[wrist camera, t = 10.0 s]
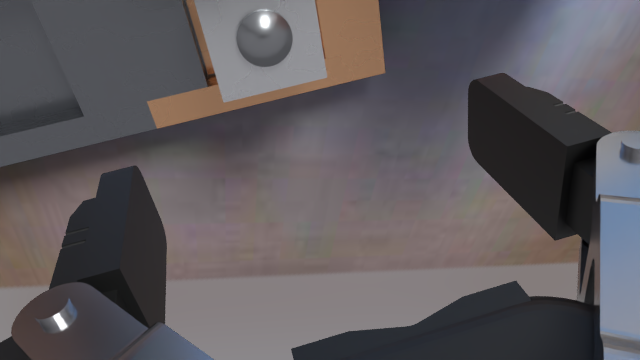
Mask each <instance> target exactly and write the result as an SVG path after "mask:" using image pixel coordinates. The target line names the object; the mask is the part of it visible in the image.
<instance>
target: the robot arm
mask: <svg viewBox="0 0 640 360" xmlns="http://www.w3.org/2000/svg"><path fill="white" fill-rule="evenodd" d="M468 142H469V147H470V150H471V153H472V155H473V157H474V159H475V160H476V161H477V162H478V163H479V165H480V166H481V167H482V168H483V169H484V170H485V171H486V172H487V173H488V174H489V175H490V176H491V177H492V178H493V179H494V180H495V181H496V182H497V183H498V184H499V185H500V186H501V187H502V188H503V189H504V190H505V191H506V192H507V193H508V194H509V195H510V196H511V197H512V198H513V199H514V200H515V201H516V202H517V203H518V204H519V205H520V206H521V207H522V208H523V209H524V210H525V211H526V212H527V213H528V214H529V215H530V216H531V217H532V218H533V219H534V220H535V221H536V222H537V223H538V224H539V225H540V226H541V227H542V228H543V229H544V230H545V231H546V232H547V233H548V234H549V235H550V236H551V237H552V238H553V239H554V240H559V239H562V238H565V237H569V236H572V235H576V234H578V235H579V236H580V237H581V243H580V249H579V264H578V284H577V285H578V286H577V301H576V300H571V299H566V298H558V297H546V296H544V297H543V296H533V297H529V296H528V295H527V294H526V293H525V291H524V290H523V289H522V288H521V286H520V285H519V284H518V283H517V281H513V282H510V283H507V284H503V285H500V286H497V287H493V288H490V289H487V290H484V291H480V292H477V293H474V294H470V295H468V296H464V297H462V298H460V299H458V300H456V301H455V302H453V303H451V304H450V305H448V306H446V307H444V308H443V309H441V310H439V311H438V312H436V313H434V314H433V315H431V316H429V317H427V318H426V319H424V320H422V321H421V322H419V323H417V324H415V325H412V326H407V327H396V328H384V329H372V330H360V331H349V332H345V333H342V334H339V335H335V336H332V337H329V338H325V339H322V340H319V341H316V342H313V343H309V344H306V345H302V346H299V347H296V348H292V349H291V350H292V354H293V358H294V360H640V131H620V132H614V133H612V132H610V131H608V130H607V129H605V128H604V127H602V126H600V125H599V124H597V123H596V122H594V121H592V120H591V119H589V118H588V117H586V116H584V115H583V114H581V113H580V112H575V109H573V108H572V107H570V106H569V105H567V104H563V102H562V101H561V100H559V99H557V98H556V97H554V96H553V95H551V94H549V93H547V92H544V91H541V90H537V89H534V88H530V87H525V86H523V85H522V84H520V83H519V82H517V81H516V80H514V79H513V78H511V77H510V76H508V75H507V74H505V73H499V74H496V75H492V76H488V77H484V78H480V79H476V80H473V81H472V82H471V83H470V85H469V89H468ZM166 253H167V243H166V236H165V231H164V227H163V224H162V221H161V218H160V216H159V214H158V211H157V209H156V207H155V204H154V202H153V200H152V197H151V195H150V192H149V190H148V188H147V185H146V183H145V181H144V178H143V176H142V174H141V172H140V170H139V168H138V167H137V166H131V167H127V168H123V169H119V170H115V171H111V172H107V173H104V174H102V175H101V178H100V182H99V186H98V190H97V195H96V198H93V199H89V200H86V201H83V202H82V204H81V205H80V206H79V207H78V208H77V210H76V211H75V212H74V213H73V214H72V215H71V217H70V219H69V223H68V226H67V229H66V236H64V240H63V243H62V249H61V250H60V253H59V257H58V260H57V263H56V267H55V270H54V274H53V277H52V281H51V284H50V287H49V290H47V291H45V292H43V293H42V294H40V295H39V296H37V297H36V298H34V299H33V300H32V301H30V302H29V303H28V304H27V305H26V306H25V307H24V308H23V309H22V310H21V311H20V313H19V314H18V316H17V317H16V319H15V321H14V323H13V326H12V332H11V334H12V336H11V337H10V338H8V339H6V340H4V341H2V342H1V343H0V360H214V359H212V358H211V357H210V356H208V355H207V354H206V353H204V352H203V351H201V350H200V349H199V348H197V347H196V346H194V345H193V344H192V343H190V342H189V341H187V340H186V339H184V338H183V337H182V336H180V335H179V334H178V333H176V332H175V331H173V330H172V329H171V328H169V327H168V326H166V325H165V295H166Z"/></svg>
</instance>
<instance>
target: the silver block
mask: <svg viewBox="0 0 640 360" xmlns="http://www.w3.org/2000/svg"><path fill="white" fill-rule="evenodd" d="M194 2H195V6H196V9H197V13H198V16H199V20H200V23H201V27H202V30H203V33H204V37H205V40H206V44H207V47H208V51H209V54H210V58H211V61H212V65H213V68H214V71H215V75H216V78H217V82H218V85H219V89H220V92H221V96H222V99H223V102H224V103H225V102H229V101H233V100H237V99H241V98H245V97H249V96H253V95H258V94H262V93H266V92H270V91H274V90H278V89H282V88H287V87H291V86H295V85H299V84H303V83H307V82H311V81H316V80H320V79H324V78H327V72H326V66H325V60H324V54H323V48H322V41H321V35H320V29H319V23H318V17H317V11H316V5H315V0H194Z"/></svg>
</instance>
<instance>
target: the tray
mask: <svg viewBox="0 0 640 360" xmlns="http://www.w3.org/2000/svg"><path fill="white" fill-rule="evenodd" d="M315 5H316V11H317V17H318V23H319V29H320V35H321V41H322V48H323V54H324V60H325V66H326V72H327V78H324V79H320V80H316V81H311V82H307V83H303V84H299V85H295V86H291V87H287V88H282V89H278V90H274V91H270V92H266V93H262V94H258V95H253V96H249V97H245V98H241V99H237V100H233V101H229V102H225V103H224V102H223V99H222V96H221V92H220V89H219V85H218V82H217V78H216V75H215V71H214V68H213V65H212V61H211V58H210V54H209V51H208V47H207V44H206V40H205V37H204V33H203V30H202V27H201V23H200V20H199V16H198V13H197V9H196V6H195V2H194V0H0V167H2V166H6V165H10V164H15V163H19V162H23V161H27V160H31V159H35V158H39V157H43V156H47V155H51V154H56V153H60V152H64V151H68V150H72V149H76V148H80V147H84V146H88V145H92V144H96V143H101V142H105V141H109V140H113V139H117V138H121V137H125V136H129V135H133V134H137V133H142V132H146V131H150V130H154V129H158V128H162V127H166V126H170V125H174V124H178V123H183V122H187V121H191V120H195V119H199V118H203V117H207V116H211V115H215V114H219V113H223V112H228V111H232V110H236V109H240V108H244V107H248V106H252V105H256V104H260V103H264V102H269V101H273V100H277V99H281V98H285V97H289V96H293V95H297V94H301V93H305V92H309V91H314V90H318V89H322V88H326V87H330V86H334V85H338V84H342V83H346V82H350V81H355V80H359V79H363V78H367V77H371V76H375V75H379V74H383V73H385V64H384V53H383V43H382V32H381V22H380V12H379V1H378V0H315Z"/></svg>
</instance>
